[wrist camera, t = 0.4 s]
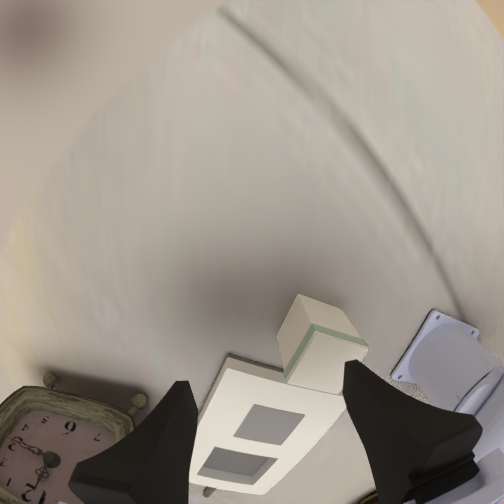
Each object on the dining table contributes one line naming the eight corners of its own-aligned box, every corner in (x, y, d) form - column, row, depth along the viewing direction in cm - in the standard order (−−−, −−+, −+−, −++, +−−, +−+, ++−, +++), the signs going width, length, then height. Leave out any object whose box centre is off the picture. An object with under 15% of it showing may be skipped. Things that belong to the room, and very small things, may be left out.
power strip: (347, 384, 25) (353, 398, 23) (245, 499, 31) (245, 510, 29) (227, 353, 23) (227, 368, 21) (164, 482, 29) (162, 493, 27)
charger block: (342, 308, 23) (370, 349, 17) (318, 348, 24) (338, 395, 18) (297, 292, 22) (316, 332, 16) (275, 335, 23) (285, 383, 17)
